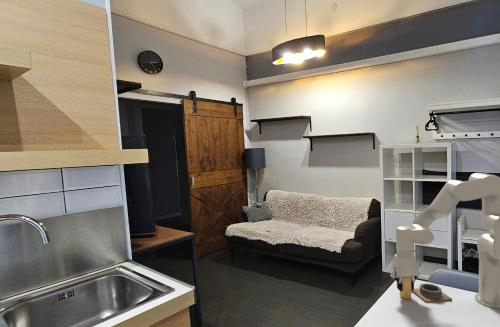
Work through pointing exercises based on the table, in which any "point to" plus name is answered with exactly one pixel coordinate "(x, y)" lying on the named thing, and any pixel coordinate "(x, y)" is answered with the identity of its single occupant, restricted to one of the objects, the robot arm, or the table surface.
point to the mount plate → (444, 297)
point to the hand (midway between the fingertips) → (405, 289)
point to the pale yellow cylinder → (406, 288)
